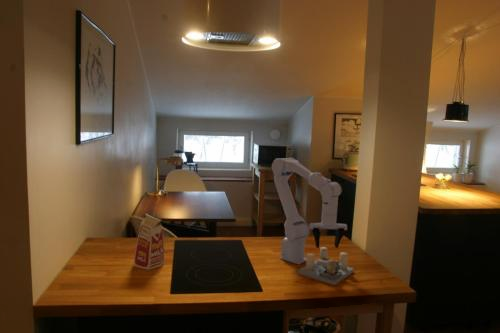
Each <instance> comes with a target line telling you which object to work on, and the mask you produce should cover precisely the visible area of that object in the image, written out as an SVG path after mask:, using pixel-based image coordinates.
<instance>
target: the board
mask: <svg viewBox="0 0 500 333" xmlns="http://www.w3.org/2000/svg"><path fill="white" fill-rule="evenodd" d="M328 250H329V249H328V247H326V246H321V247H320V246H319V258H318V259H322V260H327V261H328V260H329V258H328ZM315 256H316V255H315V253H309V252H308V253H306V258H307V259H306V261H305V266H303V267H301V268H300V269H298V275H302V276H305V277H308V278H311V279H313V280H318V281H321V282H323V283H327V284H328V285H332V286H335V285H337V284H338V283H340V282H341V281H343V280H344V279H345V278H347V277H348V276H350V275H351V274H352V273H354V267H351V266H350V267H349V266H348V261H349V260H348V258H349V253H348V252H340V253H339V260H335V261H336V264H339V263H341V269H340V270H337V269H335V275H334V276H332V275H329V274H327V267H323V266H318V265H316V264H317V260H318V259H316V260H315Z"/></svg>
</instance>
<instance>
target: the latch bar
mask: <svg viewBox="0 0 500 333" xmlns="http://www.w3.org/2000/svg"><path fill="white" fill-rule="evenodd" d="M316 260H317V264H316V265H318V266H323V267H327V260H322V259H319V258H317V259H316ZM335 269H337V270H340V269H341V263H339V264H336V265H335Z"/></svg>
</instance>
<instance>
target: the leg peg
mask: <svg viewBox="0 0 500 333" xmlns="http://www.w3.org/2000/svg"><path fill="white" fill-rule="evenodd" d="M335 265H336V260H335V259H329V260H328V261H327V274H329V275H332V276H334V275H335Z"/></svg>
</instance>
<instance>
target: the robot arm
mask: <svg viewBox="0 0 500 333" xmlns="http://www.w3.org/2000/svg"><path fill="white" fill-rule="evenodd" d="M271 171H272V173H273V181H274V184H275V185H274V186H275V187H276V191H277V195H278V196H279V200H280V202H281V206H282V208H283V212H284V216H285V217H286V220H285V222H284V223H283V226H284V235H285V236H284V238H283V239H282V242H281V253H280V257H279V259H280V260H283V261H286V262H290V263H293V264H295V265H301V264H302V263H305V262H306V259H307V257H305V252H306V248H305V247H306V240H307V237H308V236H309V235H310V230H311V232H312V234H313V238H314V242H315V247H316V248H317V249H320V238H321V235H322V234H321V231H320V230H334V235H335V236H334V247H335V248H336V249H339V245H340V243H341V241H342V239H343V237H344V235H345V234H346V231H348V225H347V224H346V223H337V216H338V205H339V203H338V201H339V196H340V195H341V194H342V192H343V189H342V185H341V184H339V183H338V182H337V181H331V179H329V178H327V177H325V176H323V173H321V172H317V171H315V172H312V171H311V170H309V169H308V168H307V167H306V166H304V165H303V164H301V163H300V162H299V160H298V159H295V158H294V157H286V158H285V157H284V158H283V157H282V158H279V157H278V158H277V157H276V158H275V159H274V160H273V161H272V164H271ZM294 173H295V174H297V175H299V176H301V177H303V179H305V180H306V181H307V182H308V185H309V186H311V187H313V188H314V189H315V190H317V191H319V192H320V196H321V200H322V206H321V219H320V220H321V221H320V222H314V223H313V222H311V223H309V224H307V222H306V221H305V218H303V217H302V216H301V215H300V214H299V211H298V208H297V205H296V202H295V200H294V197H293V196H294V195H293V193H292V191H291V187H290V185H289V182H288V181H289V179H290V177H291V176H292V175H293V174H294Z"/></svg>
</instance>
